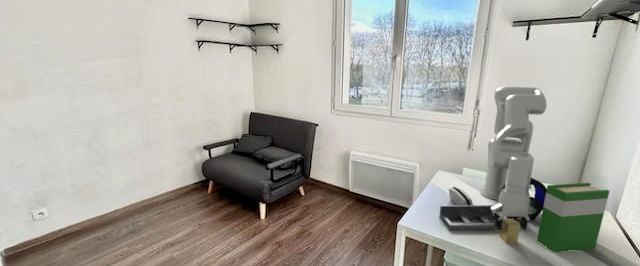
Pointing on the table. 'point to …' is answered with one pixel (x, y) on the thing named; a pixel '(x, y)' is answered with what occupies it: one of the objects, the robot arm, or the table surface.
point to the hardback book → (572, 217)
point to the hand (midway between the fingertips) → (510, 228)
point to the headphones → (535, 198)
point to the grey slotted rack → (468, 217)
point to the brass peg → (509, 230)
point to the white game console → (459, 196)
